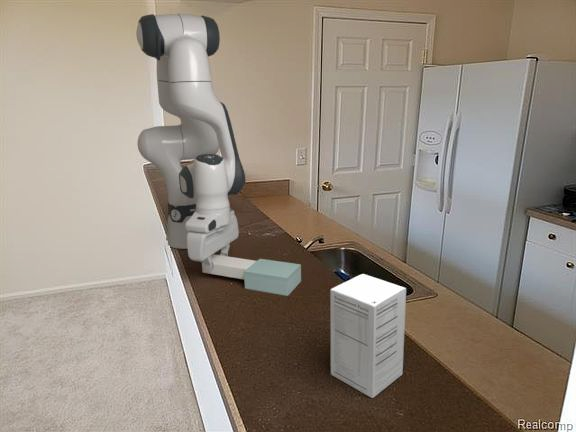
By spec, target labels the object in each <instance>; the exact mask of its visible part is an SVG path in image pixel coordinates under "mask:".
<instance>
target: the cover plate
mask: <svg viewBox="0 0 576 432" xmlns="http://www.w3.org/2000/svg"><path fill="white" fill-rule="evenodd" d="M210 261H211V262H212V263H214V265H213V266H214V268H213V269H212V270H210V271H209V270H206V269H205V264H204V262H203V261H201V267H202V273H205V274H211V275H215V276H223V277H227V278H232V279H233V278H234V279H239V280H244V271H245V270H246V269H247V268H249V267H250V266H251V265H252V264H254V263H255V262H256V261H257V260H253V259H248V258H247V259H246V258H240V257H233V256H229V255H228V256H221V255H220V254H215V253H214V254H212V255H211V259H210Z"/></svg>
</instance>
